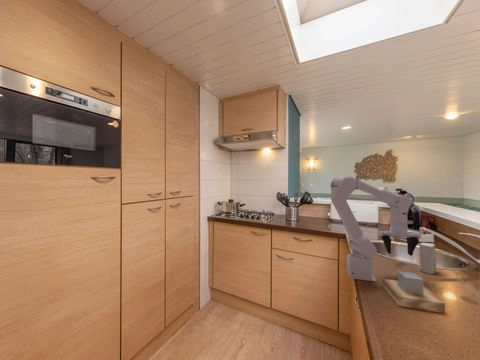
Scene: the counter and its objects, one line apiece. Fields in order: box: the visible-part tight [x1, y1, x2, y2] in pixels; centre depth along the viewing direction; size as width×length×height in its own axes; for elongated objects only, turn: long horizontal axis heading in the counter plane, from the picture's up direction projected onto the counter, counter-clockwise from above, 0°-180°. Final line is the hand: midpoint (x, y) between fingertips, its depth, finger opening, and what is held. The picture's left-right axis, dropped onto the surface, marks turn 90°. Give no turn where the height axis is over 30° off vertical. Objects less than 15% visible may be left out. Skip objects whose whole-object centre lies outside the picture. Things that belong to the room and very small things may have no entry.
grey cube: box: [397, 270, 424, 295], centre depth 67 cm, size 5×5×5 cm
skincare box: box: [418, 242, 437, 275], centre depth 87 cm, size 6×4×12 cm
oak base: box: [382, 278, 446, 314], centre depth 67 cm, size 12×12×3 cm
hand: (399, 253), depth 82 cm, fingers open, 7 cm apart
